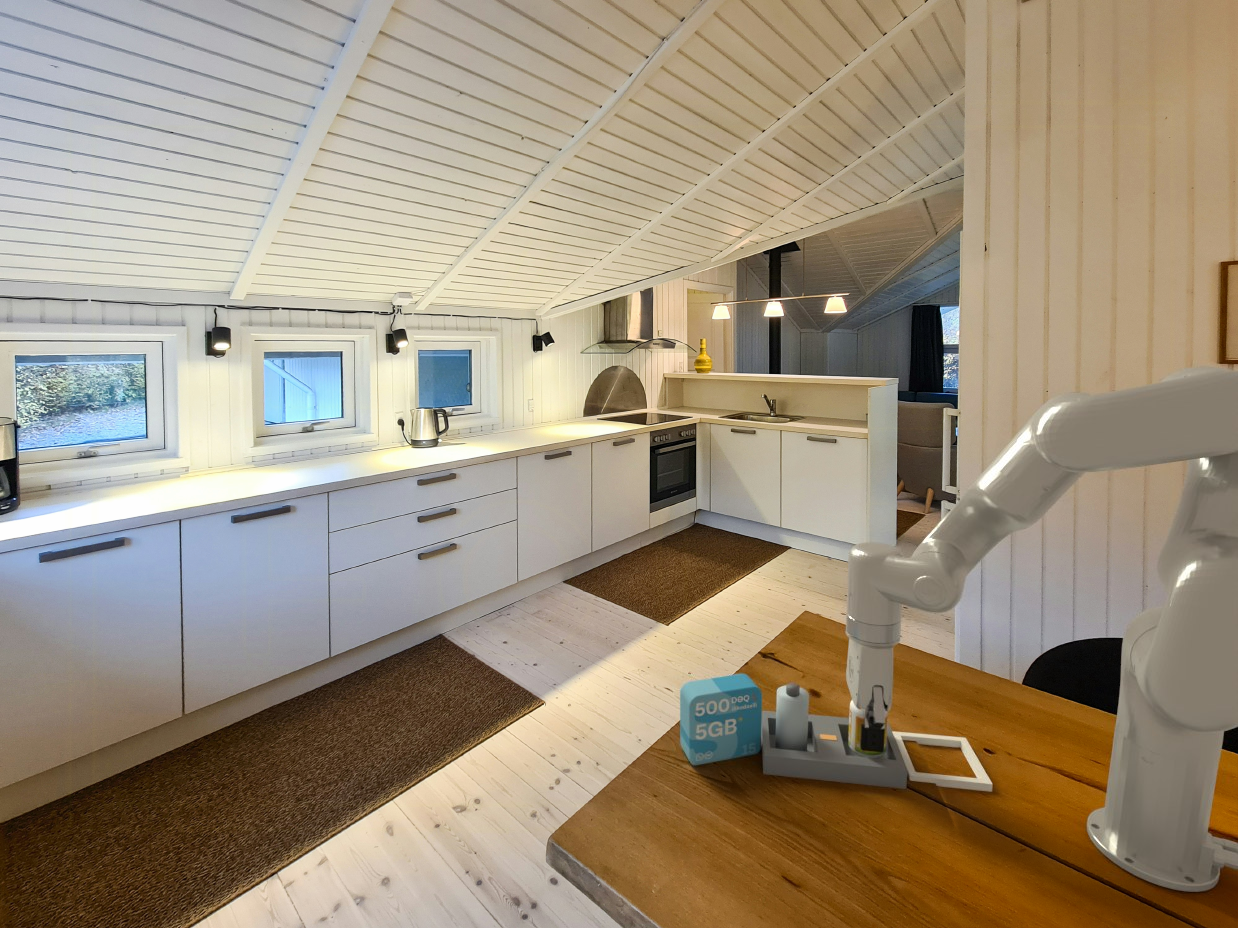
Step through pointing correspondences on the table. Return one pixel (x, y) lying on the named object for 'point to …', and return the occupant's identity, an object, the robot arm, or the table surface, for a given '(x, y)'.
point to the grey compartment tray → (831, 755)
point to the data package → (720, 718)
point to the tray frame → (945, 780)
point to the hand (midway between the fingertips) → (867, 736)
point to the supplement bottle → (855, 731)
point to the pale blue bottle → (792, 717)
